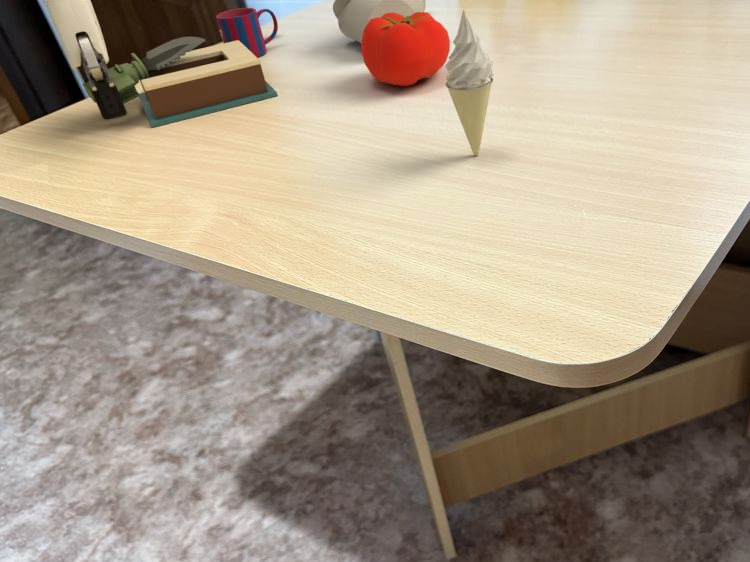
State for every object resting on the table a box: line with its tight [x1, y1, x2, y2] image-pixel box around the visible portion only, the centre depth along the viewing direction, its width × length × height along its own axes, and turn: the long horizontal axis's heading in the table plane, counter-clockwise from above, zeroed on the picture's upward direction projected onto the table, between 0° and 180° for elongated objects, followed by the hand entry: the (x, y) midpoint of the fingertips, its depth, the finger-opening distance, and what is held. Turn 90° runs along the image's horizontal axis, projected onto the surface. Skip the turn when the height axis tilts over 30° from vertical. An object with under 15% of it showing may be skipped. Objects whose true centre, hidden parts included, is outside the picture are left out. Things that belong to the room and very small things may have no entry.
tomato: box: [360, 11, 451, 87], centre depth 97 cm, size 14×13×9 cm
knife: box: [82, 36, 207, 104], centre depth 99 cm, size 4×18×5 cm
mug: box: [215, 7, 279, 59], centre depth 118 cm, size 7×10×7 cm
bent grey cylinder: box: [332, 0, 427, 44], centre depth 115 cm, size 18×11×20 cm
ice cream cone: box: [444, 9, 494, 157], centre depth 72 cm, size 5×5×15 cm
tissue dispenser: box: [138, 40, 278, 128], centre depth 102 cm, size 18×16×5 cm
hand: (113, 109), depth 99 cm, fingers closed on knife, 5 cm apart
